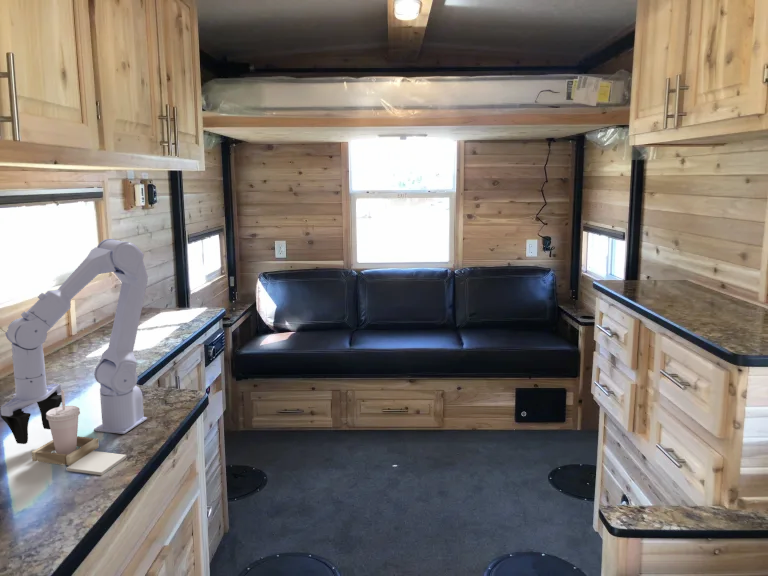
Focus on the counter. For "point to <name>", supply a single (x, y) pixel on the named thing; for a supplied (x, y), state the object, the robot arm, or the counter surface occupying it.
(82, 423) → the counter surface
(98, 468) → the coaster pad
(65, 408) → the smoothie
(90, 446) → the collar
